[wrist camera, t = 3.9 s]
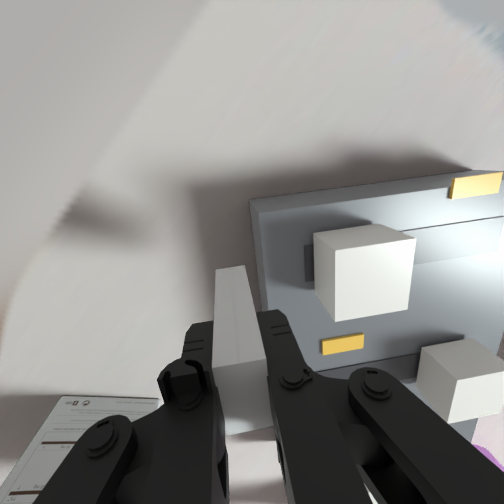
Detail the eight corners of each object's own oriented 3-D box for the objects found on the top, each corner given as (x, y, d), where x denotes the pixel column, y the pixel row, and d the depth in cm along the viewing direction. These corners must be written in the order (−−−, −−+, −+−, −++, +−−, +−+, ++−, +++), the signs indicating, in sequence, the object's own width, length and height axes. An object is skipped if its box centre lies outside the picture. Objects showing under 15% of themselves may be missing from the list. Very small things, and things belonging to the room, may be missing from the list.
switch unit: (276, 441, 28) (288, 499, 23) (248, 192, 19) (258, 204, 14) (427, 410, 30) (468, 460, 25) (474, 163, 20) (557, 164, 15)
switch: (314, 293, 16) (335, 321, 13) (313, 232, 15) (335, 250, 12) (375, 283, 16) (407, 309, 13) (379, 223, 15) (416, 238, 12)
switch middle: (415, 387, 20) (447, 424, 17) (421, 347, 19) (457, 380, 16) (462, 378, 20) (500, 412, 18) (472, 338, 19) (515, 369, 16)
